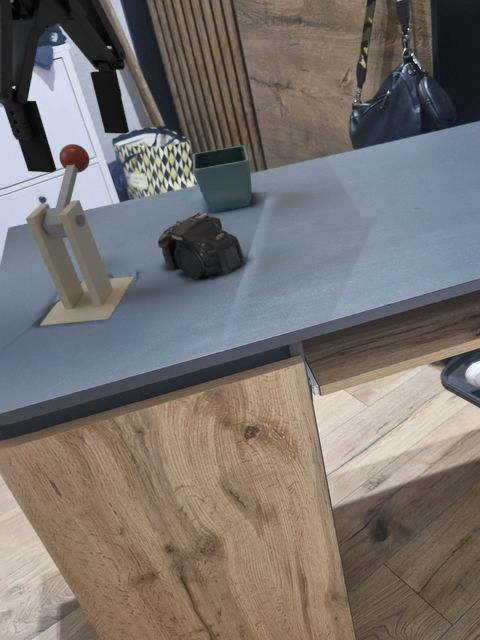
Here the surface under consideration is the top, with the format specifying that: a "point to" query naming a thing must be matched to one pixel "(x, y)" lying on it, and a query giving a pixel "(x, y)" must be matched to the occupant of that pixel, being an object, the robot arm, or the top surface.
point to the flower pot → (224, 177)
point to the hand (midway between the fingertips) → (82, 150)
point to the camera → (200, 247)
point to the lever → (66, 186)
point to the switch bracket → (75, 297)
